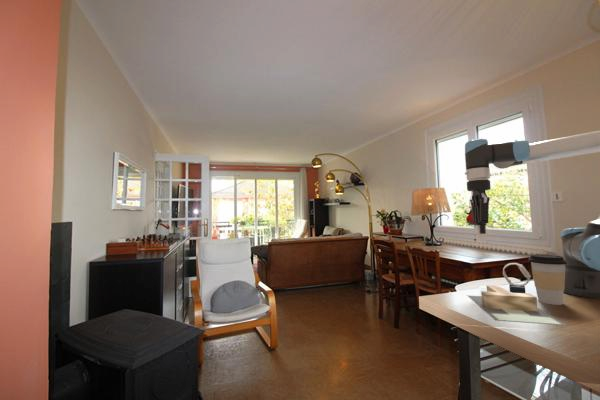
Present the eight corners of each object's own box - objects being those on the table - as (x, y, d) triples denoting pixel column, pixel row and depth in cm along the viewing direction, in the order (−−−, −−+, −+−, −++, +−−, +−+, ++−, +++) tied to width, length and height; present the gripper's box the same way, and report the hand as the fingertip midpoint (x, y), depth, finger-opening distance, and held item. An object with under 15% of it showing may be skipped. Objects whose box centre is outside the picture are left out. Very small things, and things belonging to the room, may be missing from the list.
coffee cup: (579, 307, 83) (575, 257, 84) (548, 307, 84) (544, 258, 84) (551, 298, 93) (548, 253, 94) (523, 298, 93) (520, 254, 94)
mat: (520, 299, 92) (520, 298, 92) (568, 326, 69) (568, 325, 69) (467, 296, 97) (467, 295, 97) (495, 321, 74) (495, 320, 74)
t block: (515, 298, 92) (515, 286, 93) (537, 311, 80) (536, 297, 80) (472, 296, 96) (471, 284, 96) (486, 308, 83) (486, 294, 84)
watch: (533, 298, 93) (530, 265, 94) (503, 294, 98) (501, 263, 99) (531, 294, 98) (529, 263, 99) (504, 290, 103) (502, 261, 103)
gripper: (461, 182, 112) (465, 240, 110) (472, 178, 99) (476, 243, 98) (482, 181, 110) (486, 240, 108) (496, 177, 97) (501, 244, 96)
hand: (481, 242), depth 103 cm, fingers closed
